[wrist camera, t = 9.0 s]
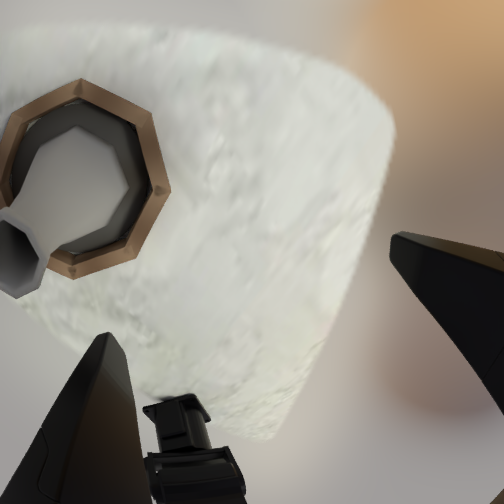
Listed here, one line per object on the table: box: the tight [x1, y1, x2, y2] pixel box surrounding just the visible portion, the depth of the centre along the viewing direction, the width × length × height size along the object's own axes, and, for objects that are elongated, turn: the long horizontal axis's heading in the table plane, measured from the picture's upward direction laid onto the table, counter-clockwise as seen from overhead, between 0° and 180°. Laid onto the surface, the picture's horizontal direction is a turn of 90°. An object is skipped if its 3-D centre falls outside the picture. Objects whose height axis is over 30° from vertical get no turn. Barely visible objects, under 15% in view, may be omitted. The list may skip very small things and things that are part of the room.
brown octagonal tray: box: [0, 78, 171, 280], centre depth 15 cm, size 12×12×2 cm
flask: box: [0, 125, 129, 299], centre depth 11 cm, size 7×7×10 cm
